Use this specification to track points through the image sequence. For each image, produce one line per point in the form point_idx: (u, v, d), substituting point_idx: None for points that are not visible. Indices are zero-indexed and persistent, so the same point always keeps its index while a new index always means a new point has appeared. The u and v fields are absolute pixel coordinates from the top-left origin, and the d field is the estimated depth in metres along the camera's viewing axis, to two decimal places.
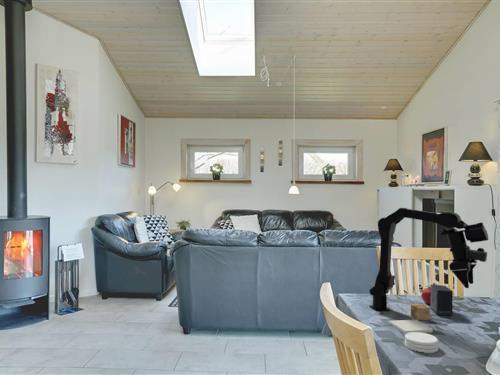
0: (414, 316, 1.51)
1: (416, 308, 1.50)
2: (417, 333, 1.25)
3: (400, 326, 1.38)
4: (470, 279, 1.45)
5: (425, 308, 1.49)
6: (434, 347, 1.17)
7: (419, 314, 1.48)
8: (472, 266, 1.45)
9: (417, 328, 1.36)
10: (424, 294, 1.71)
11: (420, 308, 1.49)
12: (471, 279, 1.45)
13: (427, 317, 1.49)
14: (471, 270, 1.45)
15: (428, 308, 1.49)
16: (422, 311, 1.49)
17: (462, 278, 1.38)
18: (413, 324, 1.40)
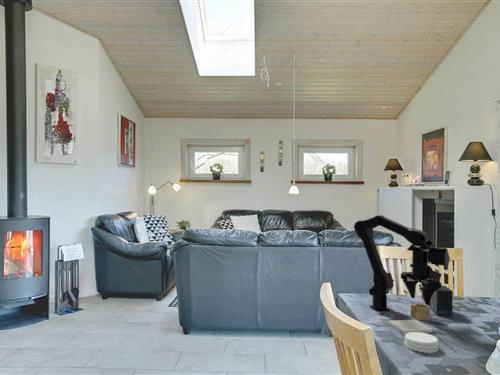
0: (414, 316, 1.51)
1: (416, 308, 1.50)
2: (417, 333, 1.25)
3: (400, 326, 1.38)
4: (413, 294, 1.56)
5: (425, 308, 1.49)
6: (434, 347, 1.17)
7: (419, 314, 1.48)
8: (416, 282, 1.57)
9: (417, 328, 1.36)
10: None
11: (420, 308, 1.49)
12: (414, 294, 1.56)
13: (427, 317, 1.49)
14: (415, 286, 1.57)
15: (428, 308, 1.49)
16: (422, 311, 1.49)
17: (427, 295, 1.46)
18: (413, 324, 1.40)
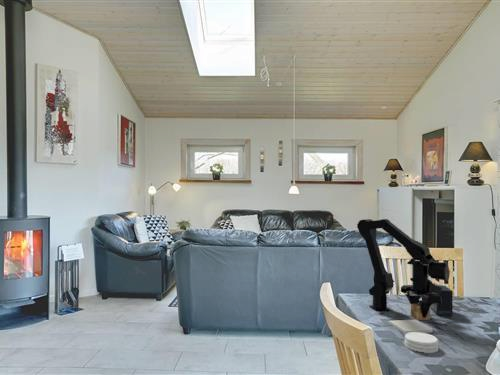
0: (414, 316, 1.51)
1: (416, 308, 1.50)
2: (417, 333, 1.25)
3: (400, 326, 1.38)
4: None
5: None
6: (434, 347, 1.17)
7: (419, 314, 1.48)
8: (419, 297, 1.55)
9: (417, 328, 1.36)
10: None
11: None
12: None
13: (427, 317, 1.49)
14: (418, 300, 1.54)
15: None
16: None
17: (425, 308, 1.47)
18: (413, 324, 1.40)
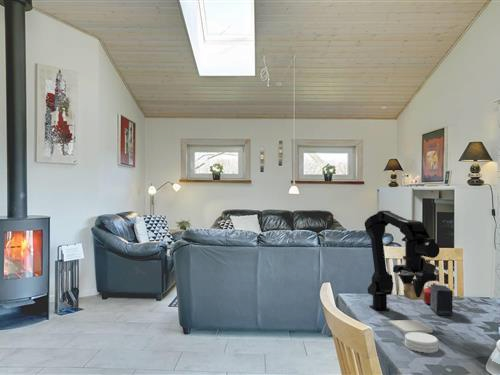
0: (407, 296, 1.42)
1: (410, 287, 1.41)
2: (417, 333, 1.25)
3: (400, 326, 1.38)
4: None
5: None
6: (434, 347, 1.17)
7: (413, 294, 1.40)
8: (412, 276, 1.46)
9: (417, 328, 1.36)
10: (424, 294, 1.71)
11: None
12: None
13: (421, 296, 1.40)
14: (411, 280, 1.46)
15: (423, 287, 1.41)
16: None
17: (419, 287, 1.39)
18: (413, 324, 1.40)
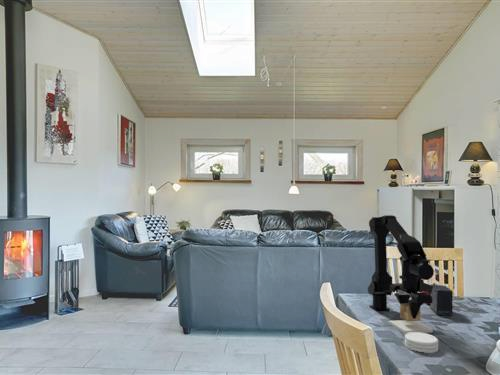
0: (403, 316, 1.39)
1: (405, 308, 1.38)
2: (417, 333, 1.25)
3: (400, 326, 1.38)
4: None
5: None
6: (434, 347, 1.17)
7: (409, 315, 1.37)
8: (409, 296, 1.43)
9: (417, 328, 1.36)
10: None
11: None
12: None
13: (417, 318, 1.37)
14: (408, 300, 1.43)
15: None
16: None
17: (414, 308, 1.36)
18: (413, 324, 1.40)
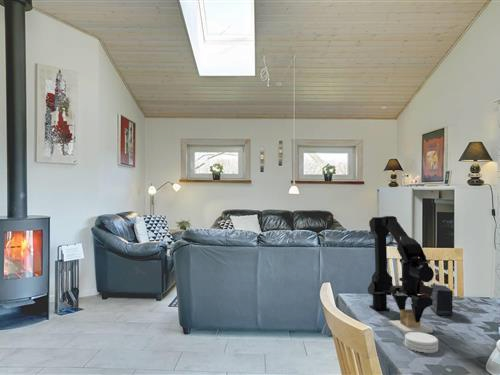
0: (403, 323, 1.39)
1: (405, 314, 1.38)
2: (417, 333, 1.25)
3: (400, 326, 1.38)
4: None
5: None
6: (434, 347, 1.17)
7: (409, 321, 1.37)
8: (406, 297, 1.45)
9: (417, 328, 1.36)
10: (424, 294, 1.71)
11: (410, 314, 1.37)
12: None
13: (417, 324, 1.37)
14: (405, 301, 1.45)
15: None
16: (412, 317, 1.37)
17: (418, 312, 1.34)
18: None
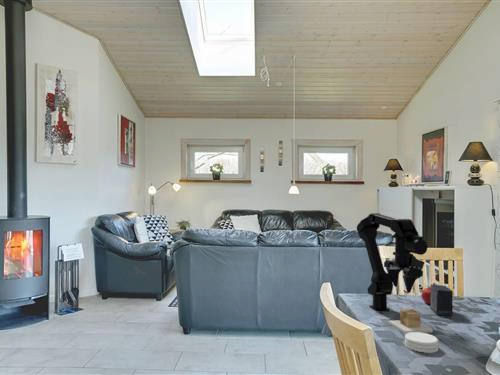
0: (403, 323, 1.39)
1: (405, 314, 1.38)
2: (417, 333, 1.25)
3: (400, 326, 1.38)
4: (396, 282, 1.54)
5: (415, 314, 1.37)
6: (434, 347, 1.17)
7: (409, 321, 1.37)
8: (399, 270, 1.55)
9: (417, 328, 1.36)
10: (424, 294, 1.71)
11: (410, 314, 1.37)
12: (396, 282, 1.54)
13: (417, 324, 1.37)
14: (398, 274, 1.55)
15: (419, 315, 1.38)
16: (412, 317, 1.37)
17: (409, 283, 1.44)
18: None
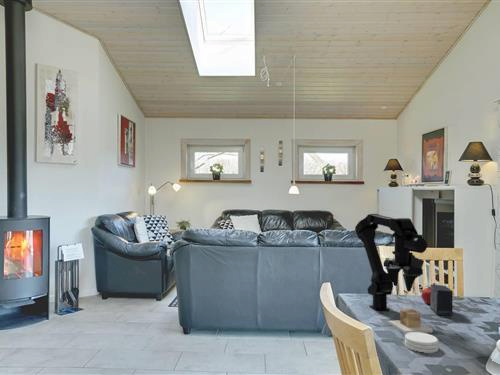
0: (403, 323, 1.39)
1: (405, 314, 1.38)
2: (417, 333, 1.25)
3: (400, 326, 1.38)
4: (396, 281, 1.55)
5: (415, 314, 1.37)
6: (434, 347, 1.17)
7: (409, 321, 1.37)
8: (399, 270, 1.56)
9: (417, 328, 1.36)
10: (424, 294, 1.71)
11: (410, 314, 1.37)
12: (396, 281, 1.55)
13: (417, 324, 1.37)
14: (397, 273, 1.55)
15: (419, 315, 1.38)
16: (412, 317, 1.37)
17: (409, 282, 1.44)
18: None
